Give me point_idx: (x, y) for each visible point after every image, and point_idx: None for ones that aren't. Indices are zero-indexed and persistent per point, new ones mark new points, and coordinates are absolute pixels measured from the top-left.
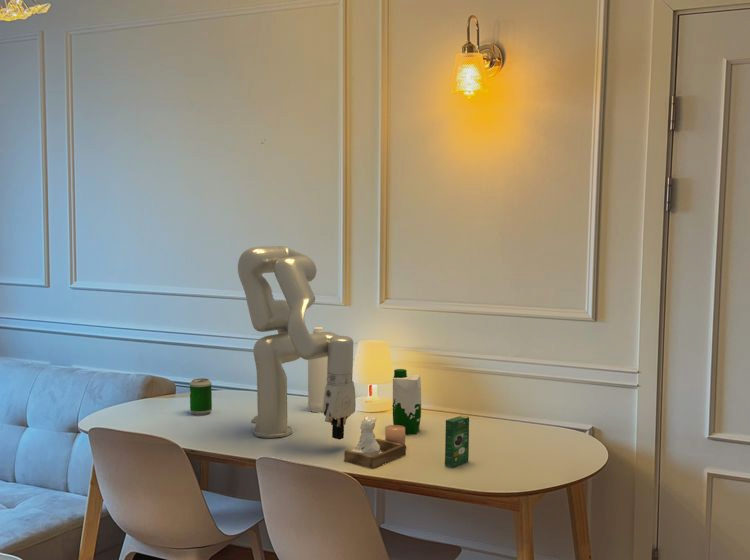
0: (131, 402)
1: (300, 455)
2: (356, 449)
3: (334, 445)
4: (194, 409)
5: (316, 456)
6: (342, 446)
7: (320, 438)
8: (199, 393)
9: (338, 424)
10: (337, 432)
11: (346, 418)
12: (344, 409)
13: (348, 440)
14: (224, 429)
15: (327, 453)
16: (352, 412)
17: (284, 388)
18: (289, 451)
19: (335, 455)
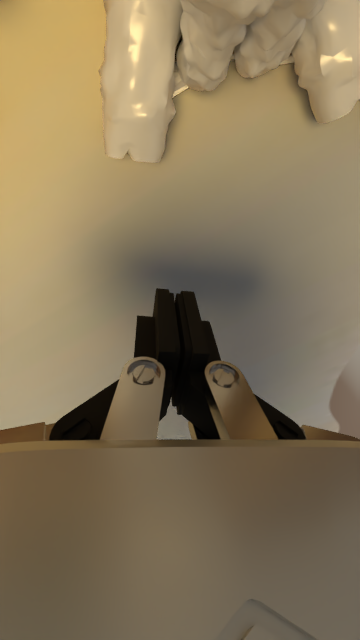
0: None
1: (308, 349)
2: (335, 27)
3: (126, 320)
4: None
5: (310, 299)
6: (115, 283)
7: (86, 396)
8: None
9: (233, 382)
10: (205, 336)
11: (78, 414)
12: (326, 633)
13: (10, 310)
14: None
15: (253, 283)
16: (3, 472)
17: None
18: (271, 390)
19: (274, 231)
